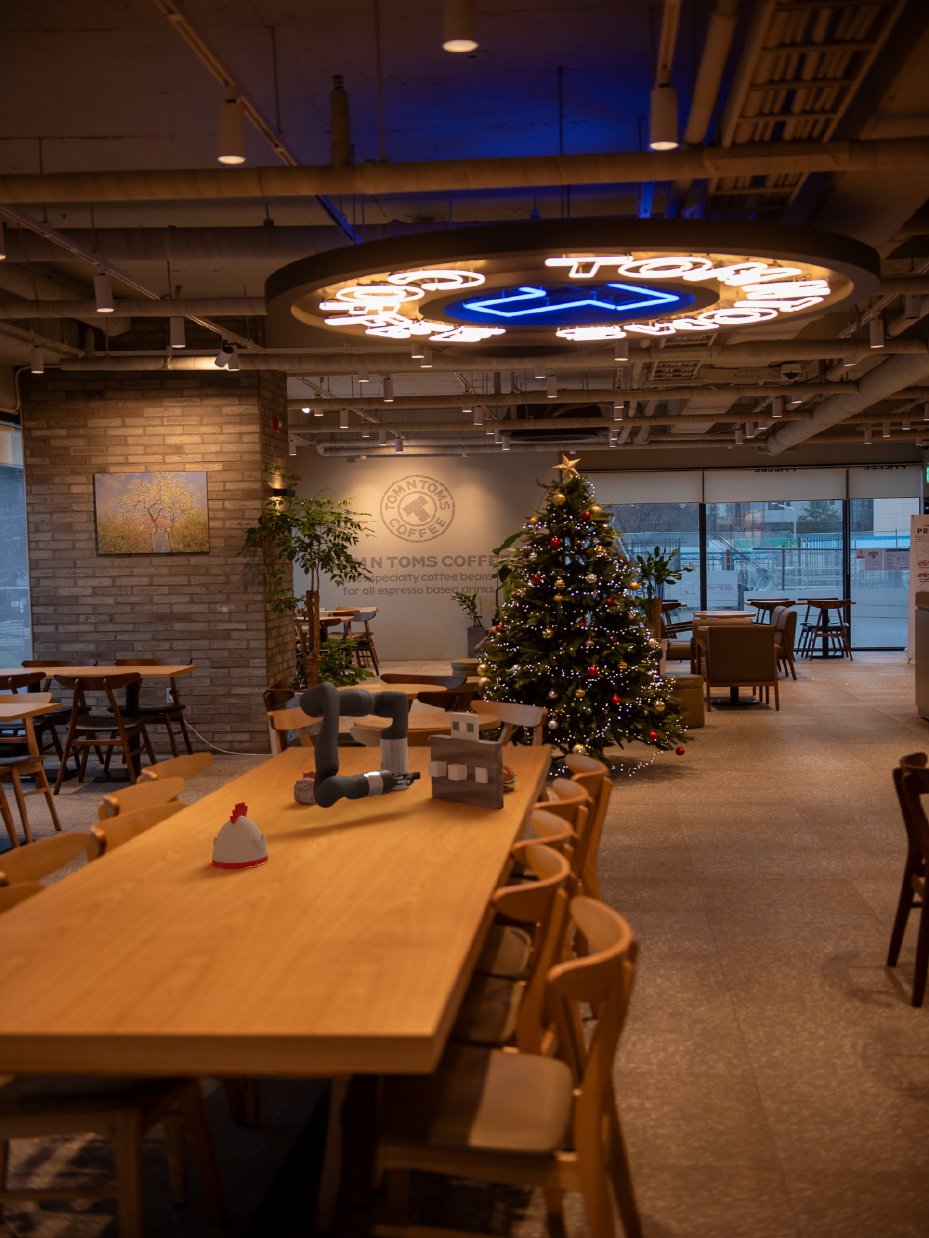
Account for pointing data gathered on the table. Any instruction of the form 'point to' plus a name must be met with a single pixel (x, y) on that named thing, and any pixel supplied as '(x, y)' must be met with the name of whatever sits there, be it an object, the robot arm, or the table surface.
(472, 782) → the console
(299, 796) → the food item
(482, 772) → the right button
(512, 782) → the cheeseburger
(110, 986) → the table surface
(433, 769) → the left button
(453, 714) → the pattern sign
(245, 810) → the kitchen timer
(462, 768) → the middle button
